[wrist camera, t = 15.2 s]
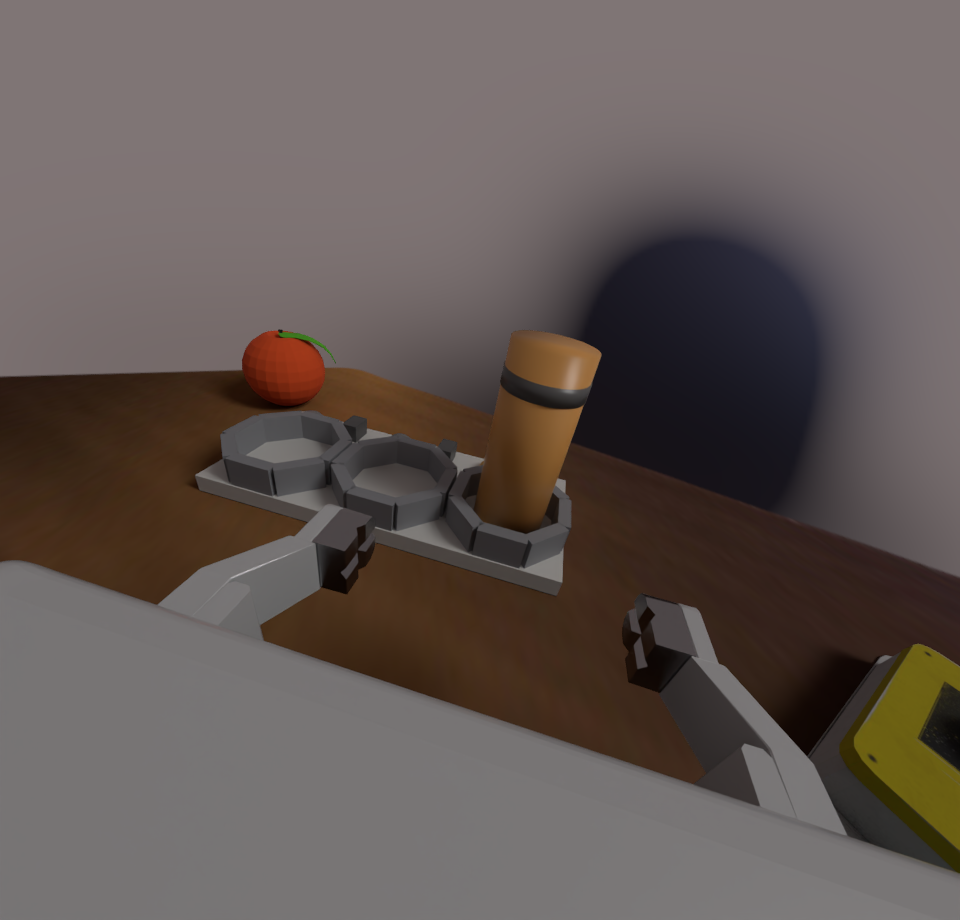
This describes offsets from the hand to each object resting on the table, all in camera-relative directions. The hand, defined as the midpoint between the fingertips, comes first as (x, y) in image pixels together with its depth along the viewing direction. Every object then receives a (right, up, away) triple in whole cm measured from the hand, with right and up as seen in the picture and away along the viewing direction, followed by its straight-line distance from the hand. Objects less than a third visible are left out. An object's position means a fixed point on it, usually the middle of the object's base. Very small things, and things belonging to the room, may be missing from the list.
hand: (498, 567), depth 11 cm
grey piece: (-6, +1, +16) cm, 18 cm away
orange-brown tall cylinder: (+1, -1, +14) cm, 14 cm away
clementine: (-19, +9, +25) cm, 33 cm away
